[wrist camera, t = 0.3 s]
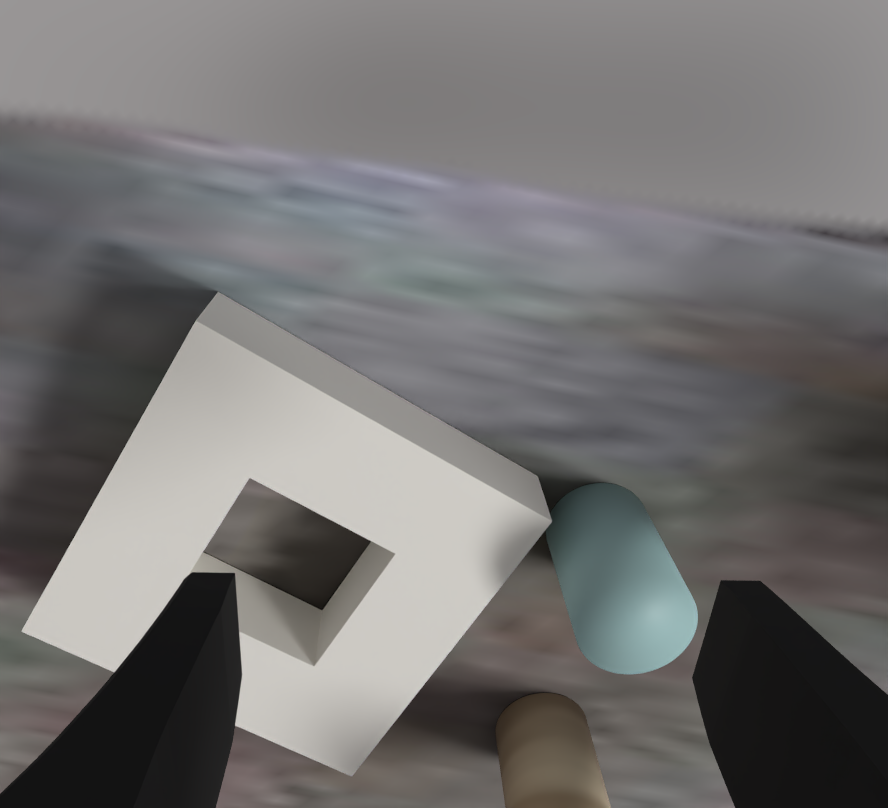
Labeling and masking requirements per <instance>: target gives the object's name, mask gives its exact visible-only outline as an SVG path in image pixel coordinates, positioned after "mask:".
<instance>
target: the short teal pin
mask: <svg viewBox="0 0 888 808" xmlns="http://www.w3.org/2000/svg"><path fill="white" fill-rule="evenodd" d="M550 516H551V519H552V522H551V524H550V525H549V526H548V528H547V529H546V539H547V542H548V546H549V549H550V553H551V556H552V559H553V563H554V566H555V570H556V573H557V576H558V580H559V583H560V586H561V590H562V593H563V597H564V600H565V603H566V607H567V610H568V613H569V617H570V620H571V623H572V627H573V630H574V634H575V637H576V640H577V644H578V646H579V648H580V650H581V651H582V653H583V654H584V656H585V657H586V658H587V659H588V660H589V661H591V662H592V663H593V664H594V665H596V666H598V667H599V668H602V669H604V670H606V671H610V672H613V673H619V674H639V673H645V672H649V671H652V670H655V669H658V668H660V667H662V666H664V665H666V664H668V663H670V662H671V661H673V660H674V659H675V658H677V657H678V656H679V655H680V654H681V653H682V652H683V651H684V650H685V649H686V647H687V646H688V645H689V643H690V642H691V640H692V638H693V636H694V634H695V631H696V627H697V621H698V612H697V607H696V604H695V601H694V599H693V597H692V595H691V593H690V592H689V590H688V588H687V586H686V584H685V582H684V580H683V579H682V577H681V575H680V573H679V571H678V569H677V567H676V565H675V564H674V562H673V560H672V558H671V556H670V554H669V552H668V550H667V549H666V547H665V545H664V543H663V541H662V539H661V537H660V535H659V534H658V532H657V530H656V528H655V526H654V524H653V522H652V521H651V519H650V517H649V515H648V513H647V511H646V509H645V507H644V506H643V504H642V502H641V501H640V500H639V498H638V497H637V496H636V495H635V494H634V493H632V492H631V491H629V490H628V489H626V488H624V487H621V486H618V485H615V484H610V483H594V484H588V485H585V486H582V487H579V488H577V489H575V490H573V491H571V492H569V493H568V494H566V495H565V496H564V497H563V498H562V499H560V500H559V502H558V503H557V504H556V505H555V506H554V508H553V509H552V511H551V513H550Z"/></svg>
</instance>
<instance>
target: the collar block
mask: <svg viewBox="0 0 888 808" xmlns="http://www.w3.org/2000/svg"><path fill="white" fill-rule="evenodd" d="M249 478H251V479H253V480H255V481H257V482H259V483H261V484H263V485H265V486H267V487H268V488H270V489H272V490H274V491H276V492H278V493H280V494H282V495H284V496H286V497H288V498H289V499H291V500H293V501H295V502H297V503H299V504H301V505H303V506H305V507H307V508H309V509H311V510H312V511H314V512H316V513H318V514H320V515H322V516H324V517H326V518H328V519H330V520H332V521H334V522H335V523H337V524H339V525H341V526H343V527H345V528H347V529H349V530H351V531H353V532H355V533H357V534H358V535H360V536H362V537H364V538H366V539H368V540H370V541H371V542H370V544H369V545H368V546H367V548H366V549H365V551H364V552H363V554H362V555H361V556H360V558H359V559H358V561H357V562H356V563H355V565H354V566H353V568H352V569H351V571H350V572H349V573H348V575H347V576H346V578H345V579H344V580H343V582H342V583H341V585H340V586H339V588H338V589H337V590H336V592H335V593H334V595H333V596H332V597H331V599H330V600H329V602H328V603H327V605H326V606H325V607H324V609H323V610H320V609H318V608H316V607H314V606H312V605H310V604H308V603H306V602H304V601H302V600H300V599H298V598H296V597H294V596H292V595H290V594H287V593H285V592H283V591H281V590H279V589H277V588H275V587H273V586H271V585H269V584H267V583H265V582H263V581H261V580H259V579H257V578H255V577H253V576H251V575H249V574H247V573H245V572H243V571H241V570H239V569H236V568H234V567H232V566H230V565H228V564H226V563H224V562H222V561H220V560H218V559H216V558H214V557H212V556H210V555H208V554H206V553H204V552H203V551H204V549H205V548H206V546H207V545H208V543H209V541H210V540H211V538H212V537H213V535H214V533H215V532H216V530H217V529H218V527H219V525H220V524H221V522H222V521H223V519H224V517H225V516H226V514H227V513H228V511H229V510H230V508H231V506H232V505H233V503H234V502H235V500H236V498H237V497H238V495H239V494H240V492H241V490H242V489H243V487H244V486H245V484H246V482H247V481H248V479H249ZM551 522H552V519H551V516H550V513H549V510H548V507H547V503H546V500H545V497H544V494H543V491H542V488H541V485H540V482H539V479H538V476H537V475H535V474H533V473H531V472H530V471H528V470H526V469H524V468H523V467H521V466H519V465H518V464H516V463H514V462H512V461H511V460H509V459H507V458H505V457H504V456H502V455H500V454H499V453H497V452H495V451H493V450H492V449H490V448H488V447H486V446H485V445H483V444H481V443H479V442H478V441H476V440H474V439H473V438H471V437H469V436H467V435H466V434H464V433H462V432H460V431H459V430H457V429H455V428H453V427H452V426H450V425H448V424H447V423H445V422H443V421H441V420H440V419H438V418H436V417H434V416H433V415H431V414H429V413H427V412H426V411H424V410H422V409H421V408H419V407H417V406H415V405H414V404H412V403H410V402H408V401H407V400H405V399H403V398H401V397H400V396H398V395H396V394H395V393H393V392H391V391H389V390H388V389H386V388H384V387H382V386H381V385H379V384H377V383H375V382H374V381H372V380H370V379H369V378H367V377H365V376H363V375H362V374H360V373H358V372H356V371H355V370H353V369H351V368H349V367H348V366H346V365H344V364H343V363H341V362H339V361H337V360H336V359H334V358H332V357H330V356H329V355H327V354H325V353H323V352H322V351H320V350H318V349H317V348H315V347H313V346H311V345H310V344H308V343H306V342H304V341H303V340H301V339H299V338H297V337H296V336H294V335H292V334H291V333H289V332H287V331H285V330H284V329H282V328H280V327H278V326H277V325H275V324H273V323H271V322H270V321H268V320H266V319H265V318H263V317H261V316H259V315H258V314H256V313H254V312H252V311H251V310H249V309H247V308H245V307H244V306H242V305H240V304H239V303H237V302H235V301H233V300H232V299H230V298H228V297H226V296H225V295H223V294H221V293H219V292H218V293H217V294H216V295H215V296H214V298H213V299H212V300H211V302H210V303H209V304H208V305H207V307H206V308H205V309H204V311H203V312H202V313H201V314H200V316H199V317H198V318H197V320H196V321H195V323H194V325H193V326H192V328H191V330H190V332H189V333H188V335H187V337H186V339H185V341H184V342H183V344H182V346H181V348H180V350H179V351H178V353H177V355H176V357H175V358H174V360H173V362H172V364H171V366H170V367H169V369H168V371H167V373H166V374H165V376H164V378H163V380H162V382H161V383H160V385H159V387H158V389H157V391H156V392H155V394H154V396H153V398H152V399H151V401H150V403H149V405H148V407H147V408H146V410H145V412H144V414H143V415H142V417H141V419H140V421H139V423H138V424H137V426H136V428H135V430H134V432H133V433H132V435H131V437H130V439H129V440H128V442H127V444H126V446H125V448H124V449H123V451H122V453H121V455H120V456H119V458H118V460H117V462H116V464H115V465H114V467H113V469H112V471H111V473H110V474H109V476H108V478H107V480H106V481H105V483H104V485H103V487H102V489H101V490H100V492H99V494H98V496H97V497H96V499H95V501H94V503H93V505H92V506H91V508H90V510H89V512H88V514H87V515H86V517H85V519H84V521H83V522H82V524H81V526H80V528H79V530H78V531H77V533H76V535H75V537H74V538H73V540H72V542H71V544H70V546H69V547H68V549H67V551H66V553H65V555H64V556H63V558H62V560H61V562H60V563H59V565H58V567H57V569H56V571H55V572H54V574H53V576H52V578H51V580H50V581H49V583H48V585H47V587H46V588H45V590H44V592H43V594H42V596H41V597H40V599H39V601H38V603H37V604H36V606H35V608H34V610H33V612H32V613H31V615H30V617H29V619H28V621H27V622H26V624H25V626H24V628H23V629H22V632H24V633H26V634H28V635H31V636H33V637H35V638H37V639H40V640H42V641H44V642H47V643H49V644H51V645H53V646H56V647H58V648H60V649H63V650H65V651H67V652H69V653H72V654H74V655H76V656H78V657H81V658H83V659H85V660H88V661H90V662H92V663H94V664H97V665H99V666H101V667H103V668H106V669H108V670H110V671H113V672H115V671H116V670H117V669H118V667H119V666H120V665H121V664H122V662H123V661H124V660H125V659H126V657H127V656H128V655H129V654H130V652H131V651H132V650H133V649H134V647H135V646H136V645H137V644H138V642H139V641H140V640H141V639H142V637H143V636H144V635H145V633H146V632H147V631H148V629H149V628H150V627H151V625H152V624H153V623H154V621H155V620H156V619H157V617H158V616H159V614H160V613H161V612H162V610H163V609H164V608H165V606H166V605H167V603H168V602H169V600H170V599H171V598H172V596H173V595H174V593H175V592H176V590H177V589H178V587H179V586H180V584H181V583H182V581H183V580H184V578H186V577H187V576H188V575H189V574H191V573H192V572H211V573H235V579H236V594H237V608H238V622H239V637H240V651H241V665H242V680H241V687H240V694H239V701H238V708H237V715H236V722H235V725H236V726H238V727H240V728H242V729H245V730H247V731H249V732H251V733H254V734H256V735H258V736H261V737H263V738H265V739H267V740H270V741H272V742H274V743H277V744H279V745H281V746H283V747H286V748H288V749H290V750H292V751H295V752H297V753H299V754H302V755H304V756H306V757H308V758H311V759H313V760H315V761H317V762H320V763H322V764H324V765H327V766H329V767H331V768H333V769H336V770H338V771H340V772H343V773H345V774H347V775H349V776H353V774H354V773H355V772H356V771H357V769H358V768H359V767H360V765H361V764H362V763H363V762H364V760H365V759H366V758H367V757H368V755H369V754H370V753H371V751H372V750H373V749H374V748H375V746H376V745H377V744H378V743H379V741H380V740H381V739H382V737H383V736H384V735H385V734H386V732H387V731H388V730H389V729H390V727H391V726H392V725H393V723H394V722H395V721H396V720H397V718H398V717H399V716H400V715H401V713H402V712H403V711H404V709H405V708H406V707H407V706H408V704H409V703H410V702H411V701H412V699H413V698H414V697H415V696H416V694H417V693H418V692H419V690H420V689H421V688H422V687H423V685H424V684H425V683H426V682H427V680H428V679H429V678H430V676H431V675H432V674H433V673H434V671H435V670H436V669H437V668H438V666H439V665H440V664H441V662H442V661H443V660H444V659H445V657H446V656H447V655H448V654H449V652H450V651H451V650H452V648H453V647H454V646H455V645H456V643H457V642H458V641H459V640H460V638H461V637H462V636H463V634H464V633H465V632H466V631H467V629H468V628H469V627H470V626H471V624H472V623H473V622H474V620H475V619H476V618H477V617H478V615H479V614H480V613H481V612H482V610H483V609H484V608H485V606H486V605H487V604H488V603H489V601H490V600H491V599H492V598H493V596H494V595H495V594H496V592H497V591H498V590H499V589H500V587H501V586H502V585H503V584H504V582H505V581H506V580H507V578H508V577H509V576H510V575H511V573H512V572H513V571H514V570H515V568H516V567H517V566H518V564H519V563H520V562H521V561H522V559H523V558H524V557H525V556H526V554H527V553H528V552H529V550H530V549H531V548H532V547H533V545H534V544H535V543H536V542H537V540H538V539H539V538H540V536H541V535H542V534H543V533H544V531H545V530H546V529H547V528H548V526H549V525H550V524H551Z"/></svg>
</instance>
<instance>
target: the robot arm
mask: <svg viewBox="0 0 888 808" xmlns="http://www.w3.org/2000/svg"><path fill="white" fill-rule="evenodd" d="M692 679H693V683H694V687H695V691H696V695H697V699H698V703H699V707H700V711H701V715H702V718H703V722H704V725H705V729H706V732H707V736H708V739H709V743H710V746H711V748H712V751H713V753H714V756H715V759H716V761H717V764H718V766H719V769H720V771H721V774H722V776H723V779H724V781H725V784H726V786H727V788H728V791H729V793H730V796H731V798H732V801H733V803H734V806H735V808H888V695H887V694H886V693H885V692H884V691H883V690H881V689H880V688H879V687H878V686H877V685H876V684H875V683H873V682H872V681H871V680H870V679H869V678H868V677H867V676H865V675H864V674H863V673H862V672H861V671H860V670H859V669H857V668H856V667H855V666H854V665H853V664H852V663H851V662H850V661H848V660H847V659H846V658H845V657H844V656H843V655H842V654H841V653H840V652H838V651H837V650H836V649H835V648H834V647H833V646H832V645H831V644H830V643H829V642H827V641H826V640H825V639H824V638H823V637H822V636H821V635H820V634H819V633H818V632H817V631H815V630H814V629H813V628H812V627H811V626H810V625H809V624H808V623H807V622H806V621H805V620H803V619H802V618H801V617H800V616H799V615H798V614H797V613H796V612H795V611H794V610H793V609H791V608H790V607H789V606H788V605H787V604H786V603H785V602H784V601H783V600H782V599H780V598H779V597H778V596H777V595H776V594H775V593H774V592H773V591H771V590H770V589H769V588H768V587H767V586H766V585H764V584H763V583H762V582H761V581H728V580H721V582H720V585H719V589H718V592H717V596H716V599H715V602H714V606H713V609H712V613H711V616H710V619H709V623H708V626H707V630H706V633H705V637H704V640H703V643H702V647H701V650H700V654H699V657H698V660H697V664H696V667H695V671H694V674H693V677H692ZM241 680H242V665H241V651H240V637H239V622H238V608H237V594H236V579H235V573H211V572H192V573H191V574H189V575H188V576H187V577H186V578H184V580H183V581H182V583H181V584H180V586H179V587H178V589H177V590H176V592H175V593H174V595H173V596H172V598H171V599H170V600H169V602H168V603H167V605H166V606H165V608H164V609H163V610H162V612H161V613H160V614H159V616H158V617H157V619H156V620H155V621H154V623H153V624H152V625H151V627H150V628H149V629H148V631H147V632H146V633H145V635H144V636H143V637H142V639H141V640H140V641H139V642H138V644H137V645H136V646H135V647H134V649H133V650H132V651H131V652H130V654H129V655H128V656H127V657H126V659H125V660H124V661H123V662H122V664H121V665H120V666H119V667H118V669H117V670H116V671H115V672H114V673H113V675H112V676H111V677H110V678H109V680H108V681H107V682H106V683H105V684H104V686H103V687H102V688H101V689H100V690H99V691H98V693H97V694H96V695H95V696H94V697H93V698H92V699H91V700H90V702H89V703H88V704H87V705H86V706H85V707H84V708H83V709H82V710H81V712H80V713H79V714H78V715H77V716H76V717H75V718H74V719H73V720H72V722H71V723H70V724H69V725H68V726H67V727H66V728H65V729H64V730H63V732H62V733H61V734H60V735H59V736H58V737H57V738H56V739H55V740H54V741H53V742H52V743H51V744H50V745H49V746H48V747H47V748H46V749H45V750H44V752H43V753H42V754H41V755H40V756H39V757H38V758H37V759H36V760H35V761H34V762H33V763H32V764H31V765H30V766H29V767H28V768H27V769H26V770H25V771H24V772H23V773H21V774H20V775H19V776H18V777H17V778H16V779H15V780H14V781H13V782H12V783H11V784H10V785H9V786H8V787H7V788H6V789H5V790H4V791H3V792H2V793H1V794H0V808H216V804H217V800H218V796H219V792H220V789H221V785H222V781H223V777H224V773H225V769H226V766H227V762H228V758H229V754H230V750H231V746H232V741H233V735H234V728H235V722H236V715H237V708H238V701H239V694H240V687H241Z"/></svg>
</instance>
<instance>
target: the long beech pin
mask: <svg viewBox="0 0 888 808" xmlns="http://www.w3.org/2000/svg"><path fill="white" fill-rule="evenodd" d="M495 734H496V741H497V748H498V756H499V763H500V770H501V777H502V785H503V792H504V799H505V807H506V808H611V807H610V803H609V799H608V796H607V792H606V789H605V785H604V781H603V778H602V774H601V770H600V767H599V763H598V760H597V756H596V752H595V749H594V745H593V742H592V738H591V734H590V731H589V727H588V724H587V720H586V716H585V714H584V712H583V710H582V709H581V708H580V706H579V705H578V704H577V703H575V702H574V701H573V700H571V699H569V698H567V697H565V696H562V695H559V694H553V693H537V694H532V695H528V696H525V697H522V698H520V699H518V700H516V701H515V702H513V703H512V704H510V705H509V706H508V707H507V708H506V709H505V710H504V711H503V712H502V714H501V715H500V717H499V719H498V721H497V724H496V732H495Z"/></svg>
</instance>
